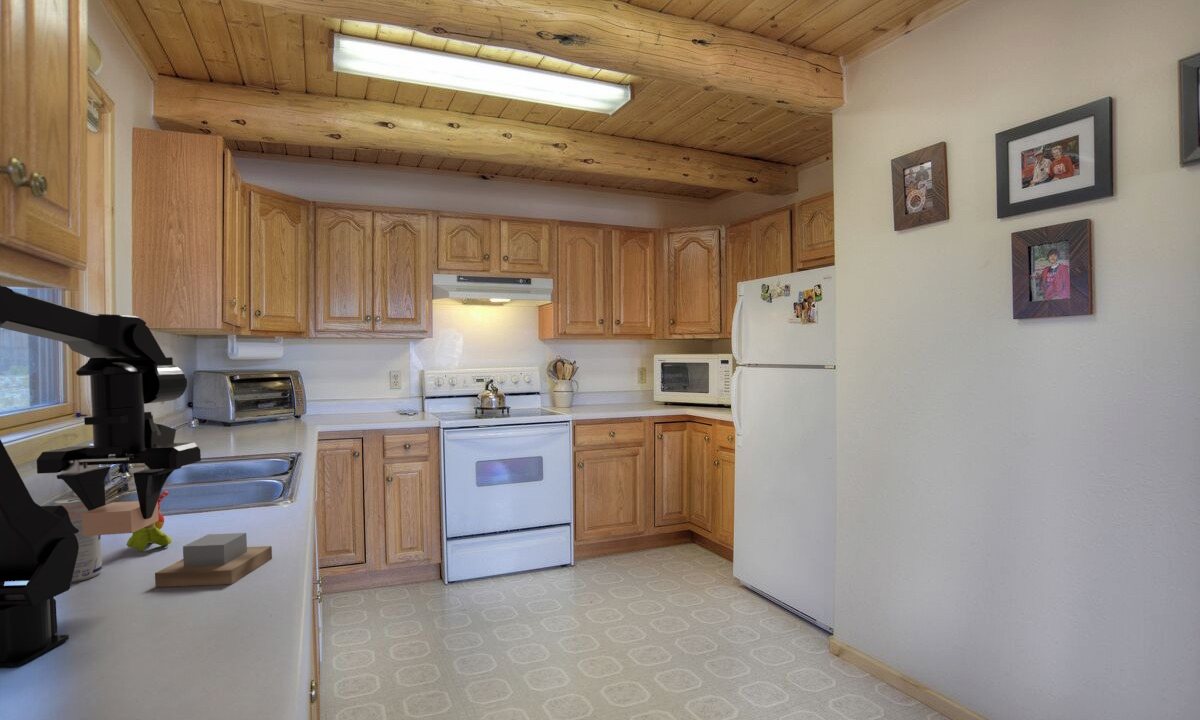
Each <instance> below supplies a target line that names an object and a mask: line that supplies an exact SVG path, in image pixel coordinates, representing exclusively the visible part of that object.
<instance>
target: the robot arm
mask: <svg viewBox="0 0 1200 720" xmlns="http://www.w3.org/2000/svg"><path fill="white" fill-rule="evenodd" d="M0 329H4V330H5V329H6V330H7V331H12V332H13V331H14V332H18V333H22V334H26V335H31V336H35V337H40V338H44V339H49V340H53V341H57V342H61V343H64V344H65V345H67V346H68V347H69V349H70V350H71V351H73V352H75V353H77V354H80V355H82V356H84V357H87V358H89V359H88V361H87V362H86V363H85V364H83V365H82V366H80V367H79V368H78V369H77V370H76V372H75V374H76V375H77V376H78V377H85V376H86V377H88V376H89V381H90V396H91V397H90V398H91V399H90V400H91V416H87V417H84V419H83V420H84V421H83V423H84V426H91V425H92V438H93V439H92V441H93V445H85V446H81V445H80V446H67V447H61V448H57V449H51V450H47V451H42V452H41V453H40V455H39V456H38V457H37V459H36V474H38V475H39V474H40V475H41V474H56V479H57V480H63V482H64V483H65V484H66V485H67V486H68V487H69V488H70V489H71V491H72V492H74V494H75V495H76V497H77V496H78V497H79V499H80V500H81V501H82V503H83V504H84V505H85V507H86V508H87V509H88V511H91V510H93V509H96V508H99V507H102V506H104V505H106V487H105V486H106V485H105V483H106V481H105V480H106V477H107V476H108V474H109V472H110V470H111V466H105V465H126V464H127V465H128V464H134V465H135V464H144V470H140V471H139V470H138V471H136V472H133V474H132V475H133V480H134V484H135V489H136V494H137V499H138V500H137V501H139V505H140V510H141V513H142V516H143V518H144V519H149V518H151V517H152V515H153V512H154V510H155V507H156V504H157V501H158V499H159V496H160V494H162V489H163V488H164V486H165V483H166V481H167V480H168V478H169V477H170V476H171V475H172V473H173V472H174V471H176V470H180V469H182V467H184V466H188V465H191V464H195V463H198V462H202V461H201V460H202V457H201V455H202V454H201V449H200V447H199V446H198V445H197V444H196V443H195V442H194V441H193V442H191V441H190V442H175V438H176V433H177V429H176V428H172V427H170V426H168V425H164V424H162V423H161V424H160V423H157V422H156V423H155V422H154V415H153V414H152V411H145V405H146V404H154V403H163V402H171V401H175V400H178V399H179V398H181V397H182V396H183V395H184V394H185V392H186V389H187V386H188V378H187V377H186V375H185V373H184V372H183V370H182V369H181V368H179V367H178V366H177V365H175V364H174V363H173V362H174V361H173V360H174V359H173V357H172V356H171V357H170V356H166V355H165V353H164V351H163V350H162V348H161V345H159V343H158V341H157V339H156V338H155V337H154V334H153V333H152V331H151V329H150V328H149V327H148V325H147V322H146V321H145V320H144V319H143V318H141V317H139V316H137V315H126V314H104V313H90V312H86V311H84V310H80V309H76V308H73V307H70V306H66V305H63V304H60V303H56V302H52V301H49V300H45V299H42V298H39V297H35V296H33V295H32V296H31V295H28V294H26V293H22V292H19V291H15V290H13V289H12V288H10V287H8V286H4V285H2V284H0ZM101 465H102V466H101ZM103 465H104V466H103ZM59 473H60V474H59ZM78 532H79V530H78V529H77V528H75V527H74V526H73V524H72V523H71V520H70V517H69V514H68V511H67V510H66V509H65V508H64V507H63V506H62V505H58V506H54V505H40V504H37V502H35V500H34V499H33V497H32V495H31V494H30V491H29V490H28V488H27V485H25V483H24V480H23V479H22V477H21V475H20V473H19V471H18V470H17V468H16V465H15V464H14V462H13V460H12V458H11V456H10V455H9V453H8V450H7V449H6V447H5V445H4V443H3V441H2V439H0V668H5V667H6V668H7V667H18V666H22V665H24V664H26V663H28V662H30V661H31V660H33V659H35V658H37V657H38V656H41V655H42V654H45V653H46V652H48V651H49V650H52V649H53V648H55V647H57V646H58V645H61V644H63V643H65V642H66V641H68V640H69V639H70V634H57V633H58V618H57V617H58V616H57V601H56V599H55V597H56V596H59V595H61V594H64V593H65V592H68V591H69V590H70V588H71V584H72V583H71V581H72V577H73V572H74V568H75V564H76V560H77V556H78V550H79V544H78V540H77V537H76V536H75V533H78ZM6 582H27V583H26V584H18V585H16V584H15V585H10V584H9V585H5V583H6Z"/></svg>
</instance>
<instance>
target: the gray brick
mask: <svg viewBox="0 0 1200 720" xmlns="http://www.w3.org/2000/svg"><path fill="white" fill-rule="evenodd" d="M247 545H248V540H247V532H238V533H237V532H235V533H231V532H230V533H210V534H206V535H204V536H202V537H200V538H198V539H195V540H194V541H191V542H190V543H187V544H185V545H183V546H182V557H183V560H184V567H186V566H209V565H225V564H227V563H229V562H230V561H232V560H234V559H235V558H237V557H239V556H241V555H242V554H244V553H246V552H247V547H248V546H247Z"/></svg>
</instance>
